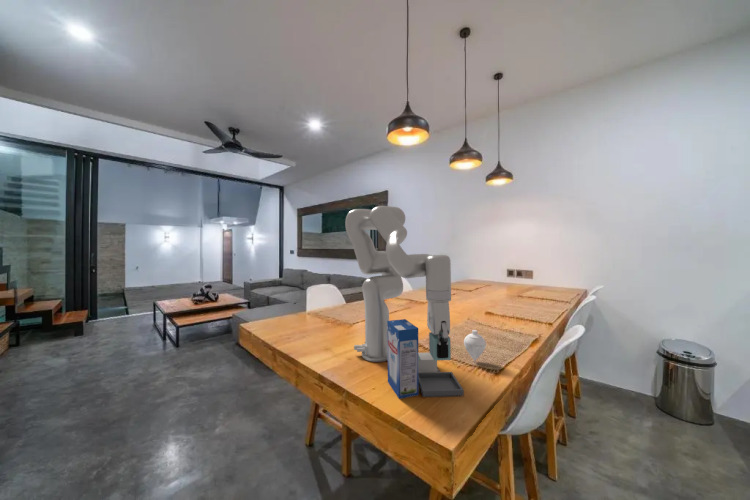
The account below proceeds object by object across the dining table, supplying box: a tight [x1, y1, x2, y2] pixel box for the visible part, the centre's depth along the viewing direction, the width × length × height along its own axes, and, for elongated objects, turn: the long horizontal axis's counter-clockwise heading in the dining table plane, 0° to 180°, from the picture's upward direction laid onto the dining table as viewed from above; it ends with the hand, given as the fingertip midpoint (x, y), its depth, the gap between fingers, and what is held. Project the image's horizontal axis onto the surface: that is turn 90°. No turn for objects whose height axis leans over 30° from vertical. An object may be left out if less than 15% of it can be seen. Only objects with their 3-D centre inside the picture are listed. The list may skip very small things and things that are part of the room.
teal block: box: [428, 331, 452, 361], centre depth 84 cm, size 5×6×6 cm
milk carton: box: [387, 318, 420, 400], centre depth 83 cm, size 10×6×20 cm, turn 16°
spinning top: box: [463, 329, 487, 363], centre depth 101 cm, size 8×8×12 cm
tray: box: [419, 371, 465, 398], centre depth 84 cm, size 12×11×2 cm
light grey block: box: [418, 352, 441, 373], centre depth 96 cm, size 9×6×5 cm, turn 92°
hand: (439, 352), depth 84 cm, fingers closed on teal block, 6 cm apart
